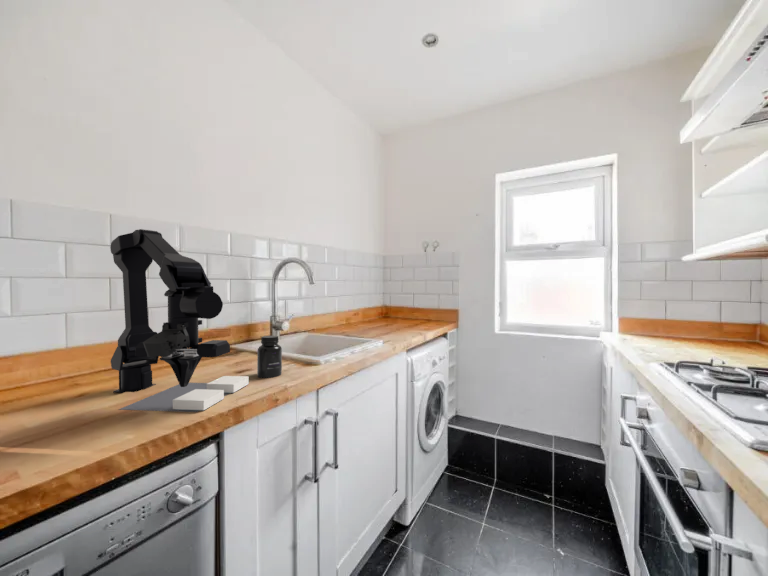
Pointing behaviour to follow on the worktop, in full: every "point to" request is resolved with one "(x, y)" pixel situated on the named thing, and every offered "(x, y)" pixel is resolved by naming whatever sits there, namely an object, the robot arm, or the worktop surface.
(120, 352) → the robot arm
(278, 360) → the supplement bottle
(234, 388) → the tile far
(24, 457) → the worktop surface
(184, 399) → the tile near
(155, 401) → the mat
